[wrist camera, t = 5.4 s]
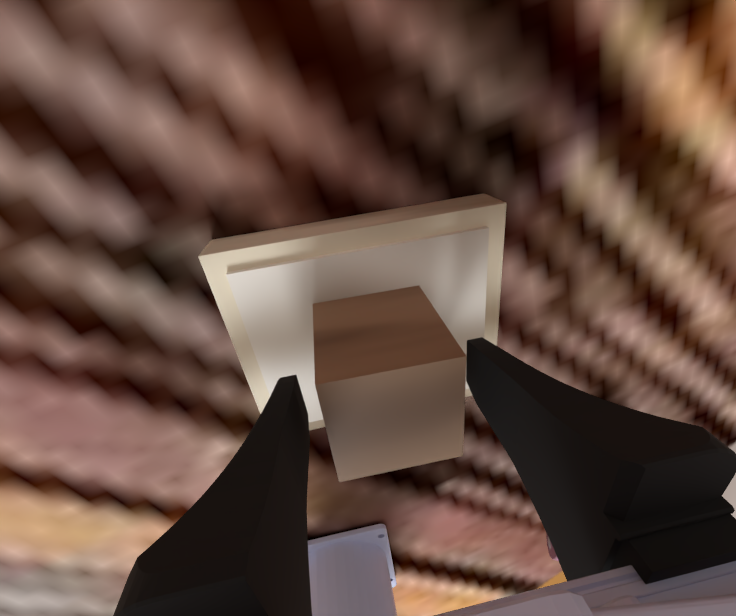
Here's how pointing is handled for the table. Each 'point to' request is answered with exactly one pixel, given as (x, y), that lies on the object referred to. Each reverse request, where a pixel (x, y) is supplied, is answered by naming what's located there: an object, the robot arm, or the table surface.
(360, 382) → the walnut block
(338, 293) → the shallow cream tray
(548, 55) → the table surface
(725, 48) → the table surface
